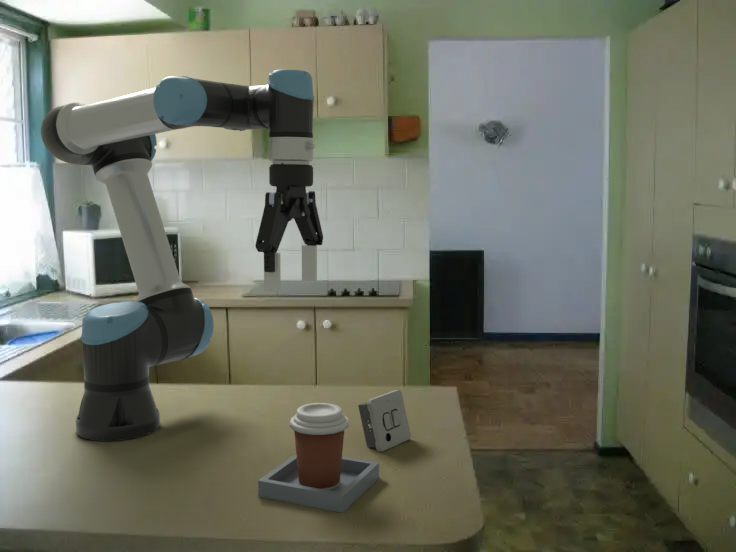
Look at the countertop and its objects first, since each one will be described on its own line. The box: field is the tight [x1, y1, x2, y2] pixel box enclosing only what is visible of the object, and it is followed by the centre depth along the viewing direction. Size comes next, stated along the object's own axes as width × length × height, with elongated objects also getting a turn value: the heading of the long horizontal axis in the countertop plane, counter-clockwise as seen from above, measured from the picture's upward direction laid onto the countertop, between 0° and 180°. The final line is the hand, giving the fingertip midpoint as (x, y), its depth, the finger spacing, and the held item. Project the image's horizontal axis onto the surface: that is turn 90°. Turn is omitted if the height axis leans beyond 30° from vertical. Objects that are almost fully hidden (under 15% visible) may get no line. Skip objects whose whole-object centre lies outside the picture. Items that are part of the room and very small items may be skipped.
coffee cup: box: [289, 402, 350, 491], centre depth 117 cm, size 9×9×12 cm
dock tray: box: [257, 453, 380, 514], centre depth 118 cm, size 14×14×2 cm
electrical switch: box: [357, 389, 412, 453], centre depth 138 cm, size 9×5×9 cm, turn 141°
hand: (291, 286), depth 133 cm, fingers open, 13 cm apart
